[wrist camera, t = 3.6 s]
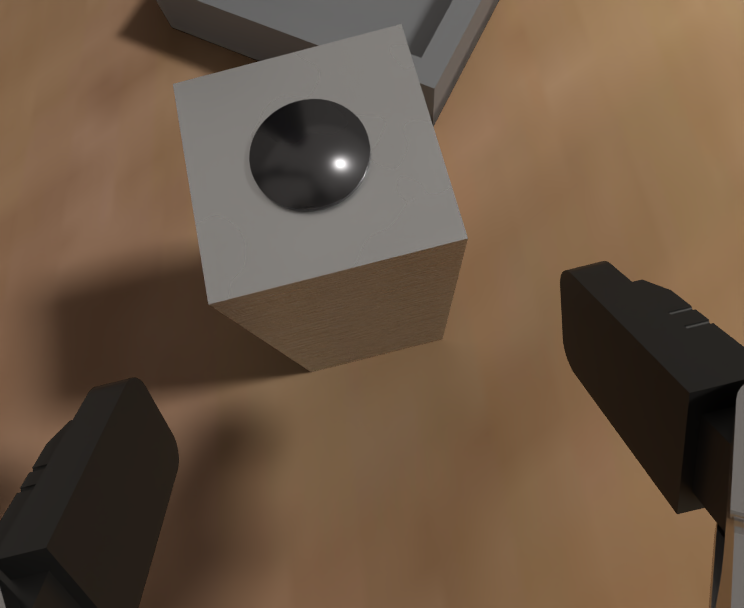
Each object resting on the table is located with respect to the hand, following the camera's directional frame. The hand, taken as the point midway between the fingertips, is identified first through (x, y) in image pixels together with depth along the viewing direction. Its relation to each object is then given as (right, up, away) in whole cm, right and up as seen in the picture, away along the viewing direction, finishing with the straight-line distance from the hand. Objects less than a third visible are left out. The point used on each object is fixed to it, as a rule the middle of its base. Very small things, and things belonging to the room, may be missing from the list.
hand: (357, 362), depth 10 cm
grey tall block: (0, +2, +10) cm, 10 cm away
